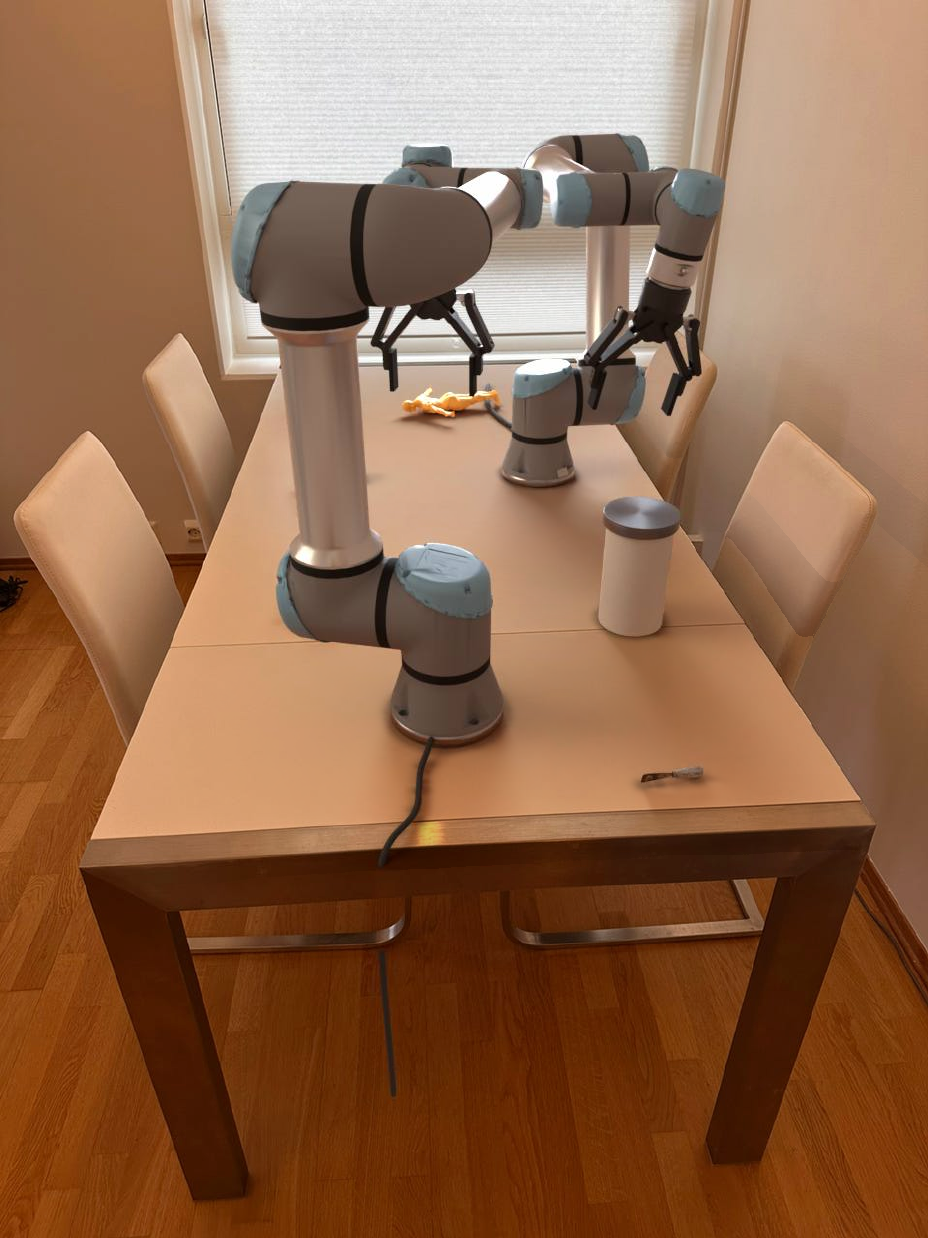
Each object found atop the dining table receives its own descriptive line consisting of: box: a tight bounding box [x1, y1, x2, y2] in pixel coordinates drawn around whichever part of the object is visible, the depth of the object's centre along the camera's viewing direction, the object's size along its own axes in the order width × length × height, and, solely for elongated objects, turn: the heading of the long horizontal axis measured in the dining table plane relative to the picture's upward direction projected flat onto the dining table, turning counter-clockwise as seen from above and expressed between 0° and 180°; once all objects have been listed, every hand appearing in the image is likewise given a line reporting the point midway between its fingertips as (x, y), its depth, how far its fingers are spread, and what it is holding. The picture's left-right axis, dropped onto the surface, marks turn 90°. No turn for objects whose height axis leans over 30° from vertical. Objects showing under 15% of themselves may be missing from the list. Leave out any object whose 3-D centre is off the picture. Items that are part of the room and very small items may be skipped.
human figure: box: [402, 385, 500, 418], centre depth 225 cm, size 20×20×4 cm
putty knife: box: [640, 765, 705, 784], centre depth 109 cm, size 1×8×2 cm, turn 103°
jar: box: [597, 527, 675, 638], centre depth 136 cm, size 10×10×18 cm
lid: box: [602, 496, 682, 540], centre depth 131 cm, size 11×11×2 cm
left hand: (433, 391), depth 149 cm, fingers open, 13 cm apart
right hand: (629, 409), depth 150 cm, fingers open, 13 cm apart
